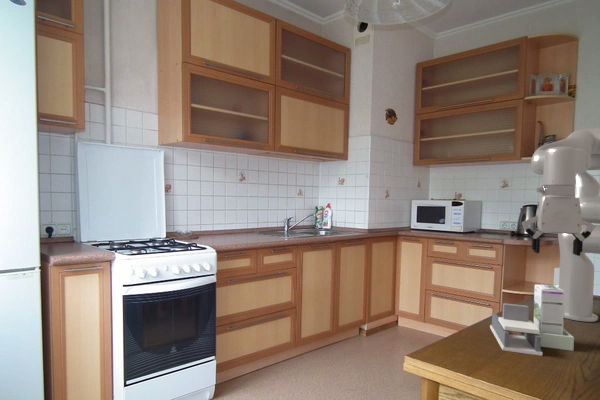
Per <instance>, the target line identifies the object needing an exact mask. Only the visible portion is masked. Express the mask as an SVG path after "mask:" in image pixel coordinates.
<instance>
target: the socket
mask: <svg viewBox="0 0 600 400" xmlns="http://www.w3.org/2000/svg"><path fill="white" fill-rule="evenodd" d="M539 335H540V336H541V347H542V348H550V349H558V350H564V351H571V352H572V351H574V350H575V349H574V347H575V346H574V345H575V344H574V343H575V337H574V336H573V335H572V334H571V333H570V332H568V330H566V329H565V328H564V327H563V335H555V334H547V333H540V334H539Z"/></svg>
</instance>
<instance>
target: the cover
mask: <svg viewBox="0 0 600 400" xmlns="http://www.w3.org/2000/svg"><path fill="white" fill-rule="evenodd" d="M529 308H530V306H528V305H524V304H516V303H515V304H514V303H506V302H505V303H503V302H502V316H498V317H499V318H498V321H499V322H500V324H501V325H502V327H503V328H504V330H509V331H518V332H526V333H534V334H540V330H539V329H538V328H537V327H536V326H535V325H534V324H533V322H534V321H532V320H529V315H530V313H529V312H530V309H529Z"/></svg>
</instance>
